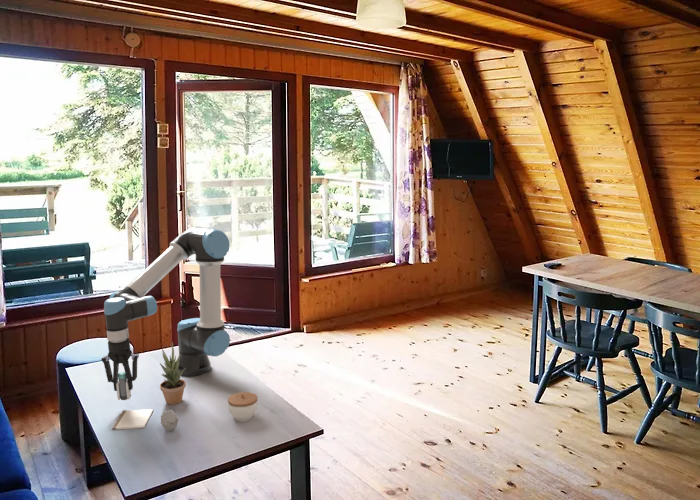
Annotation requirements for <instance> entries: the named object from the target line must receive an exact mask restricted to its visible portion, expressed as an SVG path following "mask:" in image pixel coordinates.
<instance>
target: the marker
mask: <svg viewBox="0 0 700 500" xmlns="http://www.w3.org/2000/svg"><path fill="white" fill-rule="evenodd" d="M118 381H119V387H120V396H121V399H120V400H121V401H126V400H128V399H127V392H126V382H127V378H126V374H125V371H123V372H120V373H119V372H118Z"/></svg>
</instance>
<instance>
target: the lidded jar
mask: <svg viewBox="0 0 700 500" xmlns="http://www.w3.org/2000/svg"><path fill="white" fill-rule="evenodd" d="M227 404H228V411H229V413H230V415H231V417H232V418H234V420H235V419H236V420H235V421H237V422H248V421H250V420H251V419H252V418H253V417H254V415H256V412H257V409H258V395H257V394H256V393H254V392H249V391H248V392H247V391H244V392H243V391H242V392H235V393H233V394H232V395H230V396H228V398H227ZM249 419H250V420H249ZM247 420H248V421H247Z"/></svg>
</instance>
